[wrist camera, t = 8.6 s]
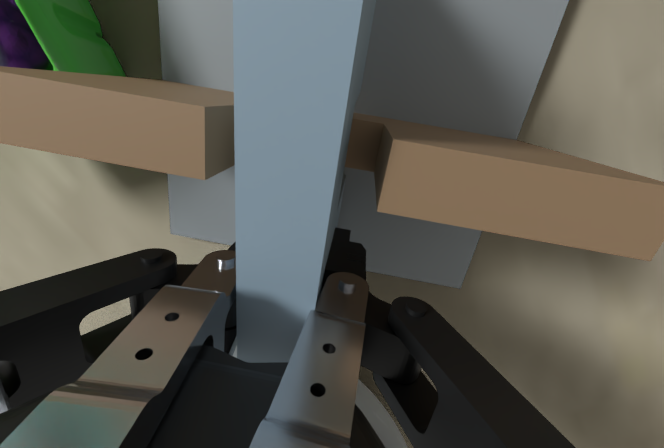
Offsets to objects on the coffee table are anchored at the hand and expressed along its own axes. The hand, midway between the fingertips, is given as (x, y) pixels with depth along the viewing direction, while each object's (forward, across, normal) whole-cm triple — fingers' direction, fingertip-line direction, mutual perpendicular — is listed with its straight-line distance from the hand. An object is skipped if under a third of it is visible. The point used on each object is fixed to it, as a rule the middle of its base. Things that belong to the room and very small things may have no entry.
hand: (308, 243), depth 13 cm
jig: (+4, 0, -4) cm, 6 cm away
